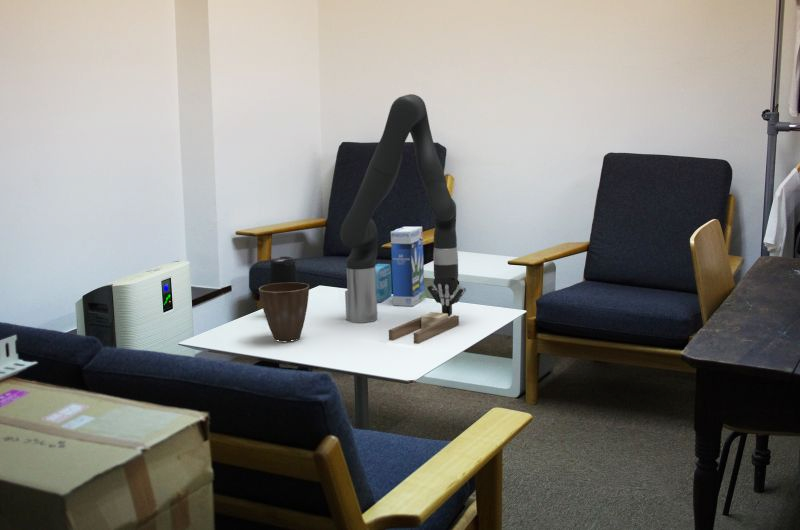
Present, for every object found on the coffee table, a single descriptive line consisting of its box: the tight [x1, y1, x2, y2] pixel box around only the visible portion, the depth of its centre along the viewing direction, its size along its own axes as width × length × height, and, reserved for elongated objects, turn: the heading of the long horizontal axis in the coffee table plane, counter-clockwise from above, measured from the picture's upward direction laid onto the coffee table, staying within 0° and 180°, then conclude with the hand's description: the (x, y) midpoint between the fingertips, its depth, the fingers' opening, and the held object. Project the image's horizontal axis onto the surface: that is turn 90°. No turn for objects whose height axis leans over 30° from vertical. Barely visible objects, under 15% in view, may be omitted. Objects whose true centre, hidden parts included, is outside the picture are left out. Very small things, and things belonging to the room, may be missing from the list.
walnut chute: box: [388, 314, 460, 345], centre depth 277 cm, size 10×24×4 cm, turn 148°
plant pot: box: [258, 282, 310, 342], centre depth 276 cm, size 15×15×16 cm
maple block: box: [420, 311, 449, 330], centre depth 282 cm, size 6×6×4 cm
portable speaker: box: [268, 255, 299, 285], centre depth 306 cm, size 9×9×20 cm
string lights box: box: [390, 226, 426, 307], centre depth 320 cm, size 13×8×26 cm, turn 160°
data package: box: [375, 263, 393, 303], centre depth 328 cm, size 12×4×12 cm, turn 159°
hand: (447, 316), depth 288 cm, fingers closed
